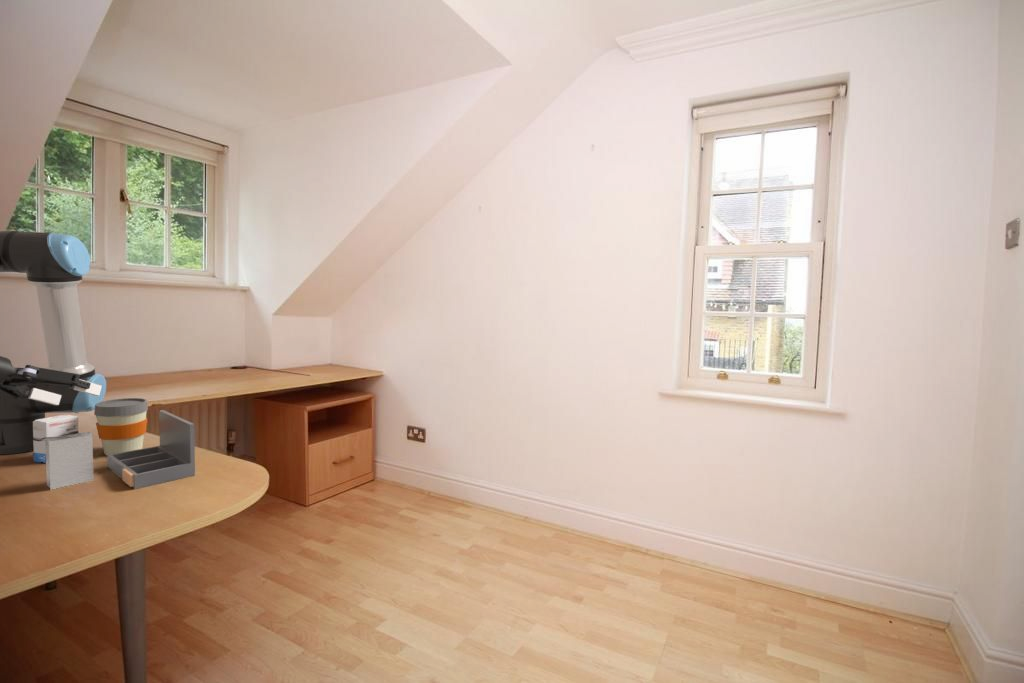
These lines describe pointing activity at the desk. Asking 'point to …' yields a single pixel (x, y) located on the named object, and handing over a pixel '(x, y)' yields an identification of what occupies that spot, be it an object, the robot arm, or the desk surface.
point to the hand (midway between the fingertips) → (79, 395)
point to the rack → (159, 455)
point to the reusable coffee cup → (121, 424)
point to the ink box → (51, 432)
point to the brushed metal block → (69, 460)
